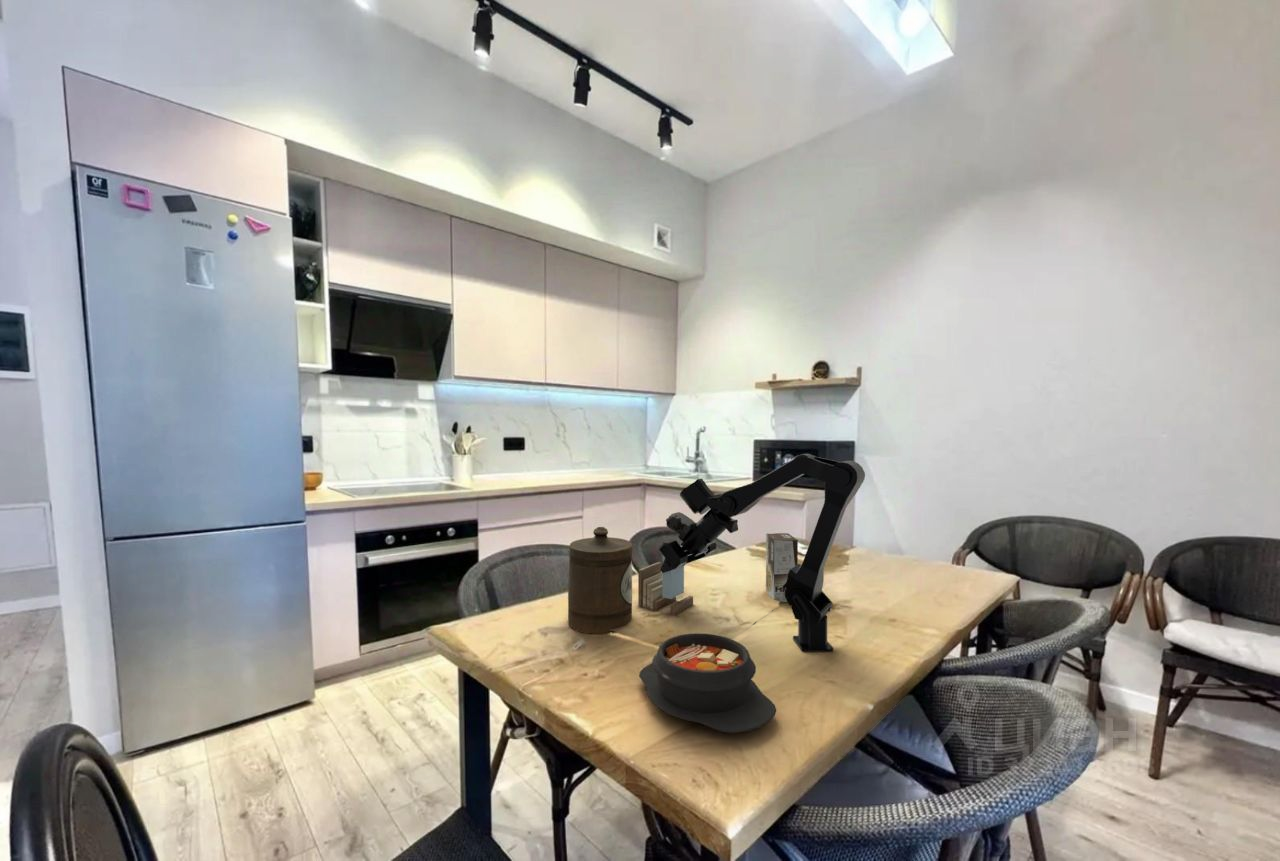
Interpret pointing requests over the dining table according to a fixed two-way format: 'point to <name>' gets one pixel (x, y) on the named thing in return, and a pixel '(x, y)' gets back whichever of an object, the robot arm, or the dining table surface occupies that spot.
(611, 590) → the wooden container
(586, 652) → the dining table surface
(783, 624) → the dining table surface
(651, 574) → the walnut rack
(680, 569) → the grey-blue panel
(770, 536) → the coffee box
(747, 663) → the casserole
